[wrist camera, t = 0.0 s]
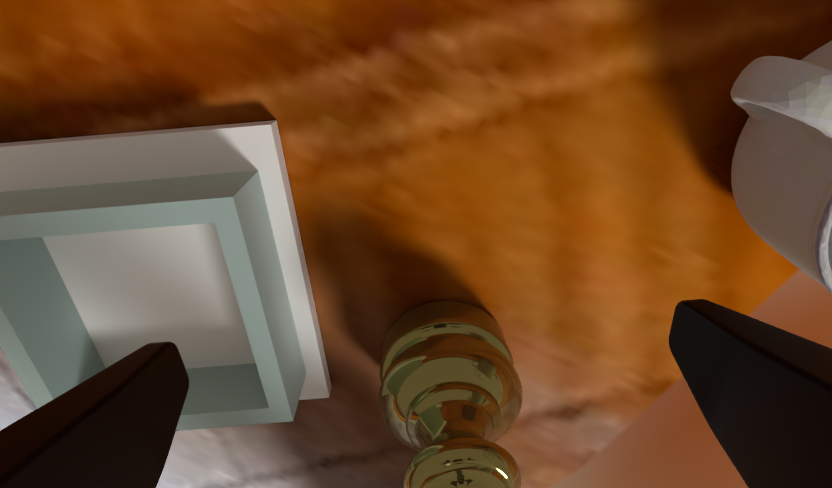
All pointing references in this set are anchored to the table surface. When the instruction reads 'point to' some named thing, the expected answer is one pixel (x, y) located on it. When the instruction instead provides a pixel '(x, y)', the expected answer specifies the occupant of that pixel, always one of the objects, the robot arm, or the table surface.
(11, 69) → the table surface
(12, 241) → the grey green tray
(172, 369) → the robot arm
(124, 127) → the table surface
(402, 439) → the gold rounded piece
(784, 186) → the teacup
